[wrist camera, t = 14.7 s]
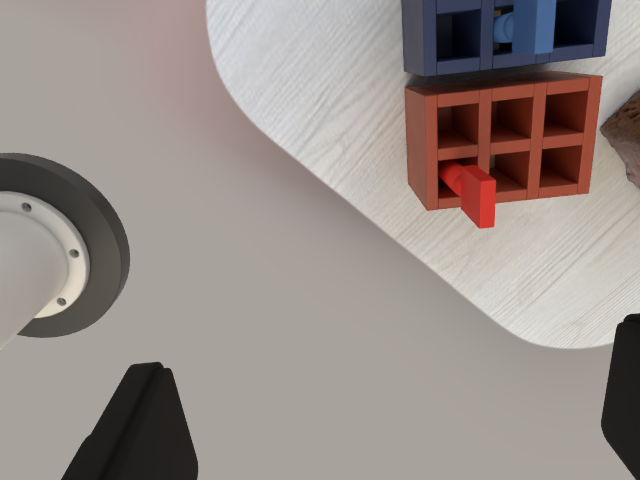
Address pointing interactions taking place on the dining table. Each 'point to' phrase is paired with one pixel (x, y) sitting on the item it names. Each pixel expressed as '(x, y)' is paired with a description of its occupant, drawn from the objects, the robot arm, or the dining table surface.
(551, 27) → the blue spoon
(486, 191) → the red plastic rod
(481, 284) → the dining table surface
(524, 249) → the dining table surface
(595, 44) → the blue caddy
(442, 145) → the red caddy
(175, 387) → the robot arm
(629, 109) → the food item
